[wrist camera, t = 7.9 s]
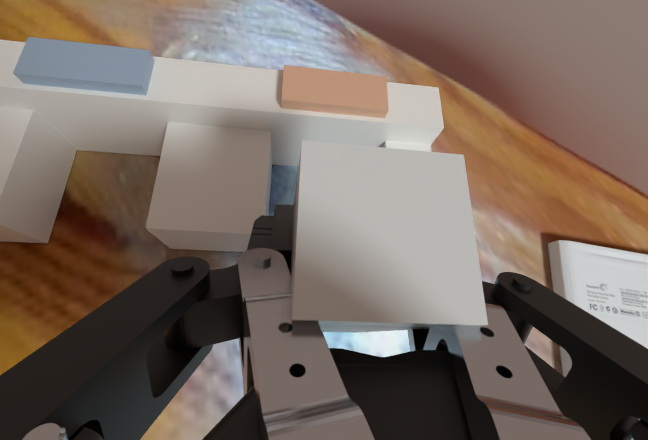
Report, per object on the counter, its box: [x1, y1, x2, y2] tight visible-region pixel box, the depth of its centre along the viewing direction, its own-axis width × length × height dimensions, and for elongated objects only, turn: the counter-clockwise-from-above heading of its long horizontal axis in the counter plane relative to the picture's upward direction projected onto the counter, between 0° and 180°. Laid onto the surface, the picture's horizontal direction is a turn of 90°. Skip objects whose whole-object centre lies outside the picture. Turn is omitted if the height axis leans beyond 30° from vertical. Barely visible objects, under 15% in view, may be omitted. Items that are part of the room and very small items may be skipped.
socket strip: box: [0, 37, 444, 252], centre depth 16 cm, size 22×8×6 cm, turn 89°
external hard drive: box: [548, 240, 648, 420], centre depth 18 cm, size 2×8×12 cm
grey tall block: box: [290, 140, 488, 332], centre depth 12 cm, size 4×4×11 cm
